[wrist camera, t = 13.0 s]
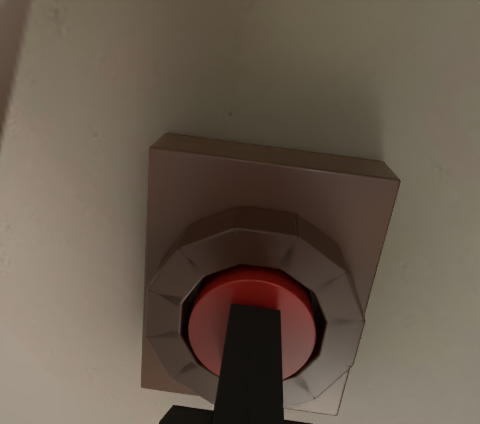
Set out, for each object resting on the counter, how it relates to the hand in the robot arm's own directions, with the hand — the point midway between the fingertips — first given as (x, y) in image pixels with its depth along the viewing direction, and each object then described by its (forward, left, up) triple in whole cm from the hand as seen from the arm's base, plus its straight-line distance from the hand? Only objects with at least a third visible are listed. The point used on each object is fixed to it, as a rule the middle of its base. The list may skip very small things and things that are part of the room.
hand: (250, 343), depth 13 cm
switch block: (0, 0, -5) cm, 5 cm away
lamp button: (0, 0, -2) cm, 2 cm away
